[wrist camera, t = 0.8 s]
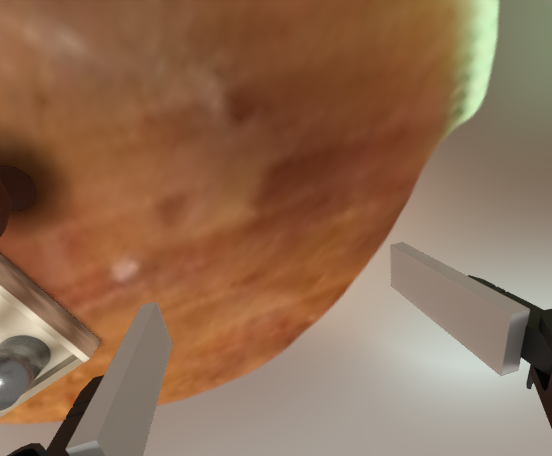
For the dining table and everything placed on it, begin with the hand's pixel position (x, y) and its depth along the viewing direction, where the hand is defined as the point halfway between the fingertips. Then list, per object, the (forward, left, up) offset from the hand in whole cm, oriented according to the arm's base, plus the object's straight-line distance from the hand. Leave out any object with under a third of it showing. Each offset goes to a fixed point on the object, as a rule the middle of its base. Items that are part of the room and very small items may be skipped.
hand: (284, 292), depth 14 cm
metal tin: (0, -38, -24) cm, 45 cm away
